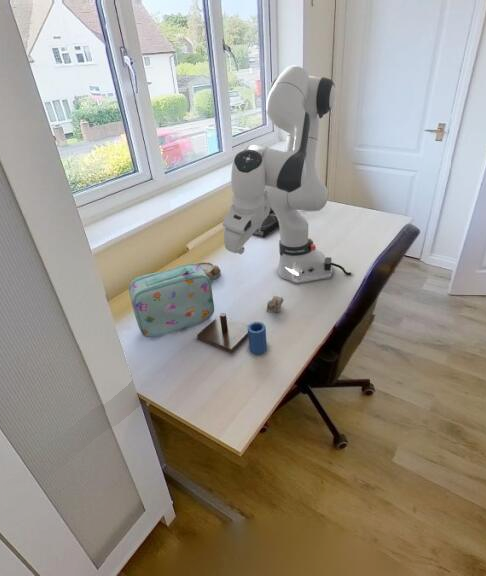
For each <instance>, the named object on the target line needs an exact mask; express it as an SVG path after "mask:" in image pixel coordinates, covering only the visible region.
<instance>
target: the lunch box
mask: <svg viewBox="0 0 486 576" xmlns="http://www.w3.org/2000/svg"><path fill="white" fill-rule="evenodd" d="M128 294H129V297H130V301H131V305H132V310H133V314H134V317H135V320H136V323H137V327H138V328H139V331H140V334H141V335H142V336H143V337H145V338H148V339H151V338H158V337H162V336H165V335H167V334H170V333H174V332H178V331H184V330H187V329H189V328H191V327H194V326H197V325H199V324H202V323H204V322H206V321H208V320H210V319H211V318H212V317H213V315H214V313H215V302H214V295H213V289H212V281H211V282H210V279H209V277H208V276H207V275H206V274H205V273H204V271H203V269H202V267H201V266H200V265H198V264H197V263H187V264H184V265H180V266H177V267H173V268H170V269H166V270H163V271H159V272H153V273H147V274H143V275H140V276H138V277H136V278H135V279H133V280H132V281H131V282H130V284H129V286H128Z"/></svg>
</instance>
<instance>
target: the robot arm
mask: <svg viewBox="0 0 486 576" xmlns="http://www.w3.org/2000/svg"><path fill="white" fill-rule="evenodd" d="M268 90H269V91H268V96H267V99H266V102H265V103H266V104H265V111H266V114H267V116H268V118H269V120H270V121H271V123H272V124H273V125H274V126H275V127H277V128H278V129H280V130H282V131H284V132H286V134H287V135H286V140H285V148H284V151H282V150H279V149H273V148H269V147H266V146H262V145H259V144H258V145H257V144H250V145H247V146H246V147H244V148H243V149H242V150H240V151H239V152H237V153H236V154H235V155H234V157H233V159H232V165H231V174H230V176H231V177H230V179H231V181H230V183H231V184H230V186H231V191H232V193H233V194H232V197H231V204H230V206H229V209H228V211H227V213H226V215H225V217H224V218H223V220H222V227H224V231H223V241H224V243H223V244H224V247H225V250H227V251H228V252H230V253H234V254H239V255H242V254H244V252H245V247H244V246H245V245H246V244H247V242H248V241H249V240H250V238H251V237H252V236H254V235H253V233H254V234H256V235H258V234H259V233H260V228H261V225H262V223H263V221H264V220H265V219H266V217H267V216H268V215H270V214H271V213H270V207H271V208H272V210H273V211H274V212H273V213H274V214H275V215H274V216H276V217H277V219H278V222H279V228H278V229H279V242H278V252H279V262H278V267H277V270H276V273H277V275H278V276H279V277H280V278H282V279H284V280H287V281H290V282H291V283H293V284H303V283H308V282H309V283H310V282H313V281H320V280H326V279H330V278H331V277H332V275H333V268H332V266H333V267H336V268H339V269H340V270H342V272H343V273H344V275H347V276H349V275H350V276H351V275H352V272H348V271H347V270H345V268H344V267H343V266H342V265H340V264H337V263H334V262H332V257H329V256H327V257H326V256H325V254H324V253H323V251H321V250H319V249H317V246H316V244H314V241H313V240H312V238H311V237H309V222H308V219H307V218H306V217H305V216H304V215H302V214H301V213H300V212H299V211H303V212H318V211H322V210H323V209H324V207H325V206H326V205H327V203H328V201H329V192H328V188H327V186H326V185H325V184H324V183H323V181H322V180H321V178H320V177H319V175H318V171H317V168H316V155H317V146H318V140H319V133H320V119H323V117H324V115H326V114H328V113H329V112H330V111H331V110H332V108H333V106H334V104H335V101H336V96H337V92H336V84H335V82H334V81H333V80H332V79H331V78H328V77H325V76H322V77H320V76H315V75H309V74H308V72H307V71H306V70H305V68H303V67H301V66H299V65H290V66H288V67H285V68H284V70H282V71H281V73H279V75H278V76H276V77H275V78H273V80H272V81H271V82H270V86H269V89H268ZM256 235H255V236H256Z"/></svg>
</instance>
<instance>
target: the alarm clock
mask: <svg viewBox="0 0 486 576" xmlns="http://www.w3.org/2000/svg"><path fill="white" fill-rule="evenodd" d="M196 264H198V265H200V266H201V267H202V269H203V271H204V273H205V274H206V275H207V276H208V277H209V279H210V282H211V283H212V281H213V280H217V279H219V278H220V277H221V275H222V273H221V271H222V270H221V269H220V267H219V266H218V265H214V264H213V263H211V262H206V261H205V262H198V263H197V262H196Z"/></svg>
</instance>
